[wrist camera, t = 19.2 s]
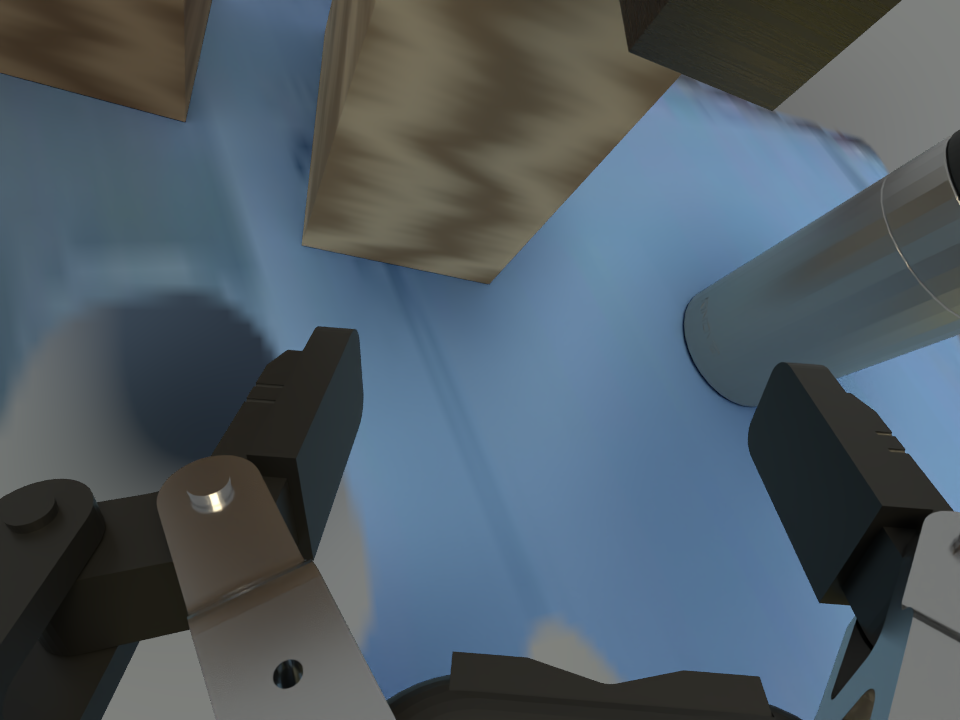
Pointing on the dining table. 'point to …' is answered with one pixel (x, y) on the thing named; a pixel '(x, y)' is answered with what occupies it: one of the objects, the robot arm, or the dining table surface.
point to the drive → (747, 40)
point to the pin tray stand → (464, 124)
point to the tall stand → (108, 48)
